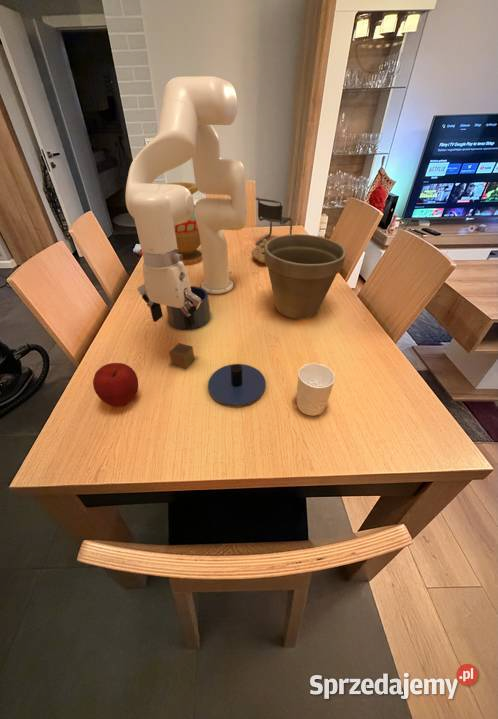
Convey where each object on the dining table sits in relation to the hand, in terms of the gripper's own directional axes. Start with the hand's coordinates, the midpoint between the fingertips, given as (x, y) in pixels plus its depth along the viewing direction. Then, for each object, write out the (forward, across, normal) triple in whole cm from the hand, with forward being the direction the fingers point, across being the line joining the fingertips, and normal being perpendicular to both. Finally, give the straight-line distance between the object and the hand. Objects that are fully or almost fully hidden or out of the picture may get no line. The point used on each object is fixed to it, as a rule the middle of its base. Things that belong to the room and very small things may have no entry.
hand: (174, 323), depth 76 cm
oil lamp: (+12, +4, -75) cm, 76 cm away
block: (+13, 0, 0) cm, 13 cm away
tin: (+12, +10, -20) cm, 26 cm away
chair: (+11, +8, -100) cm, 101 cm away
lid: (+12, -18, +3) cm, 22 cm away
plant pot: (+12, -22, -40) cm, 48 cm away
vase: (+12, +38, -64) cm, 75 cm away
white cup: (+13, -38, +2) cm, 40 cm away
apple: (+13, +5, +18) cm, 23 cm away
